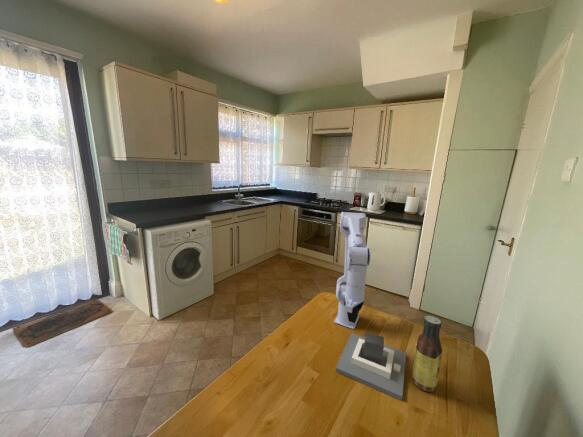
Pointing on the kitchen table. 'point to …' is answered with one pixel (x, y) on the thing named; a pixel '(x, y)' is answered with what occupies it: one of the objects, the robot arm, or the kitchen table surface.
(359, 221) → the robot arm
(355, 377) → the socket
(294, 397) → the kitchen table surface
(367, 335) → the plug
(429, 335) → the sauce bottle
